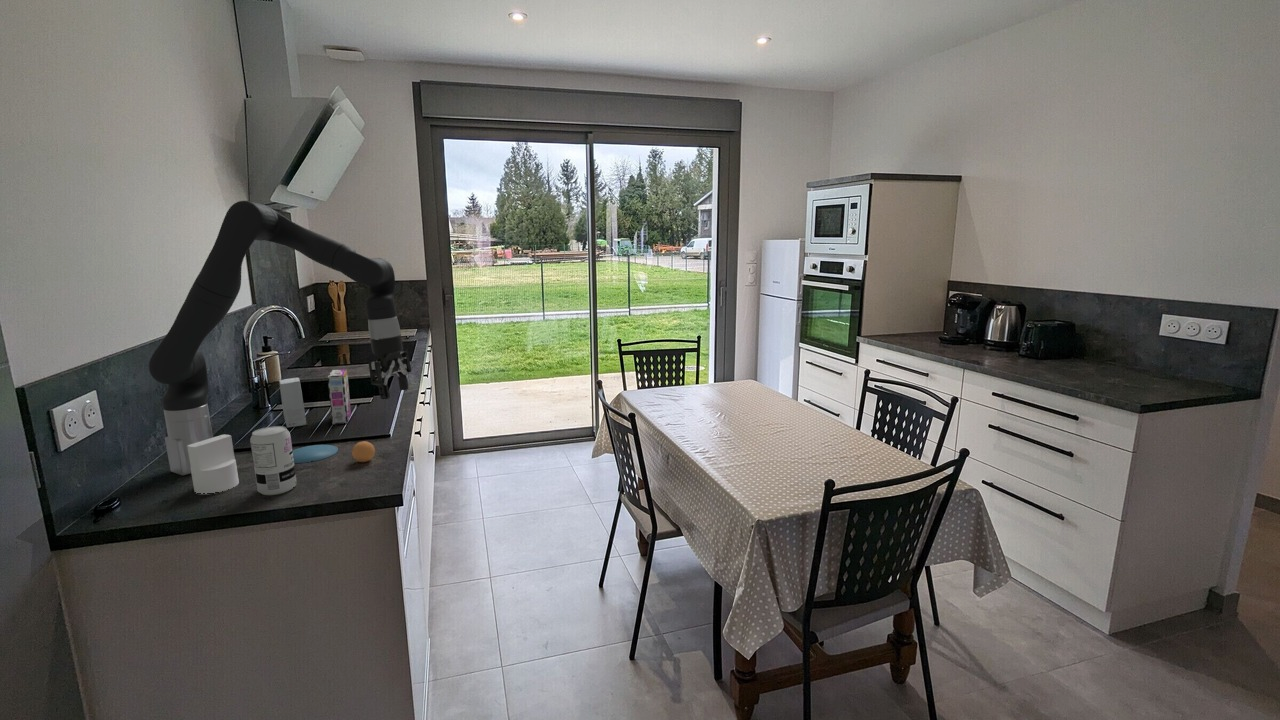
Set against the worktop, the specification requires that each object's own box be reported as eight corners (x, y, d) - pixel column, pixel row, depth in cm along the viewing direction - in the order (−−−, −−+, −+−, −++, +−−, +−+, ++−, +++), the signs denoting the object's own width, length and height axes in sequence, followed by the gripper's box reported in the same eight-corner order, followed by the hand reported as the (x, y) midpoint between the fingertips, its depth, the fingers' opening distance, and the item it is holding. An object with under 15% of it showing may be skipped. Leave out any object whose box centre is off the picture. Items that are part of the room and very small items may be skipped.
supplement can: (254, 489, 143) (245, 430, 140) (291, 479, 149) (284, 423, 146) (262, 499, 138) (253, 438, 135) (301, 489, 143) (293, 430, 140)
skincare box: (307, 425, 192) (301, 381, 189) (285, 428, 189) (279, 383, 186) (304, 418, 199) (299, 376, 196) (284, 421, 196) (278, 378, 193)
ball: (362, 466, 157) (360, 446, 156) (348, 462, 160) (346, 443, 159) (380, 459, 162) (378, 440, 161) (366, 456, 165) (364, 437, 163)
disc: (302, 466, 157) (301, 465, 157) (271, 457, 164) (270, 457, 164) (348, 450, 169) (348, 449, 169) (318, 442, 176) (318, 441, 176)
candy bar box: (349, 423, 194) (343, 375, 191) (332, 425, 192) (326, 376, 189) (352, 414, 204) (347, 368, 201) (336, 415, 203) (331, 369, 199)
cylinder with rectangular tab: (223, 477, 151) (216, 432, 148) (247, 482, 147) (240, 437, 145) (185, 491, 142) (177, 444, 140) (210, 496, 139) (202, 448, 137)
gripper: (389, 330, 162) (398, 387, 165) (354, 340, 148) (365, 402, 151) (413, 329, 160) (422, 387, 164) (381, 339, 146) (391, 401, 150)
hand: (395, 394), depth 158 cm, fingers open, 8 cm apart
